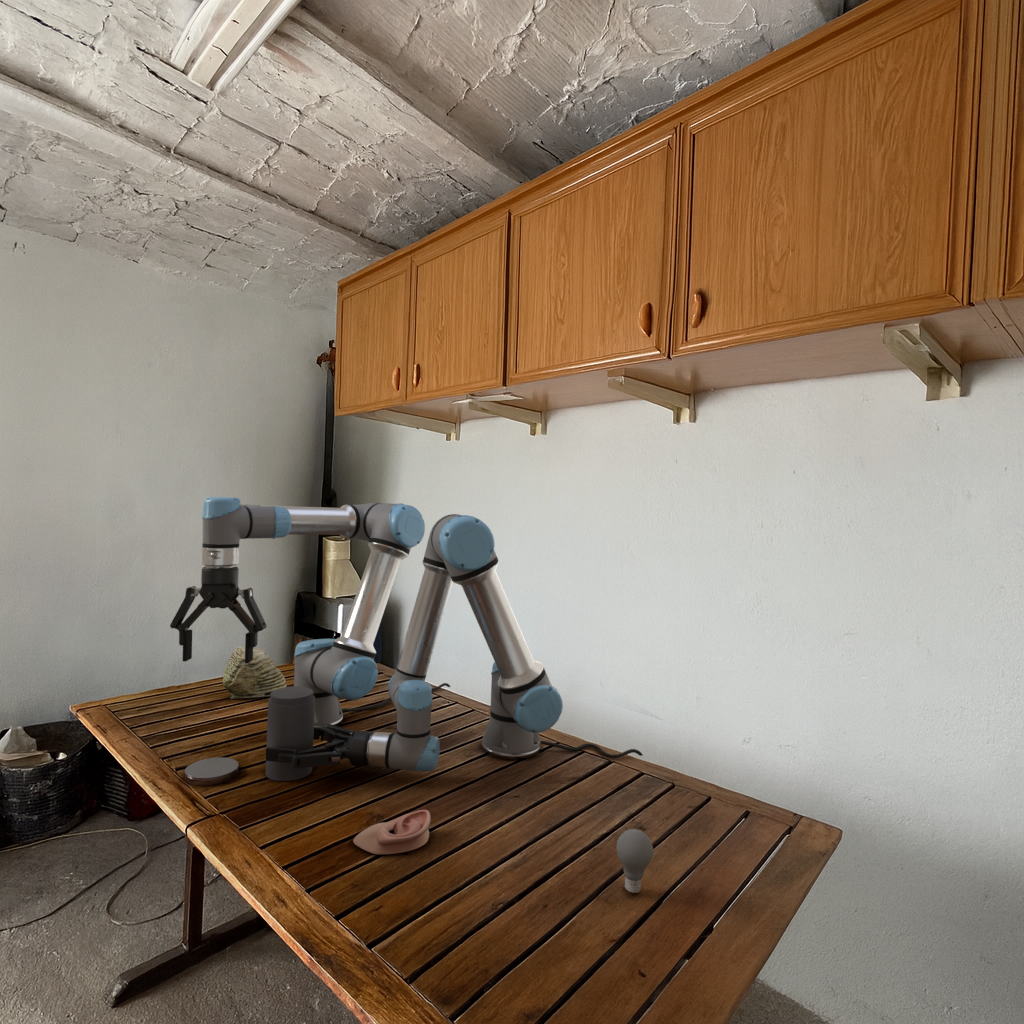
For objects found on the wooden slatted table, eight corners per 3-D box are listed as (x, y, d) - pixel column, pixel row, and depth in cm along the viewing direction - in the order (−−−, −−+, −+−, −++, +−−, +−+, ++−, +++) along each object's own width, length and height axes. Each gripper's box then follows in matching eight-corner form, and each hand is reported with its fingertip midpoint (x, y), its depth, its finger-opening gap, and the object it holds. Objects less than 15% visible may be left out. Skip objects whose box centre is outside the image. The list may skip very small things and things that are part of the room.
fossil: (218, 695, 195) (220, 647, 195) (278, 685, 208) (279, 640, 207) (228, 703, 189) (230, 653, 188) (289, 692, 201) (290, 645, 201)
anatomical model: (346, 827, 114) (372, 798, 125) (345, 849, 114) (372, 818, 125) (416, 839, 111) (436, 808, 122) (415, 861, 111) (436, 828, 123)
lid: (219, 760, 149) (219, 753, 149) (248, 772, 144) (248, 765, 143) (174, 776, 140) (174, 769, 140) (203, 790, 134) (203, 782, 134)
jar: (288, 759, 152) (291, 683, 152) (321, 768, 148) (324, 690, 147) (255, 775, 143) (258, 694, 142) (290, 785, 138) (293, 702, 138)
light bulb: (610, 879, 108) (613, 822, 108) (644, 879, 109) (647, 822, 109) (619, 902, 102) (622, 840, 102) (655, 901, 103) (658, 840, 103)
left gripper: (154, 566, 137) (152, 663, 137) (271, 570, 138) (268, 666, 138) (171, 562, 144) (169, 654, 145) (282, 566, 145) (279, 657, 146)
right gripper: (351, 790, 131) (253, 782, 133) (385, 744, 156) (302, 738, 158) (353, 754, 131) (254, 746, 133) (386, 714, 156) (303, 708, 158)
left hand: (218, 660), depth 142 cm, fingers open, 13 cm apart
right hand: (280, 742), depth 145 cm, fingers open, 13 cm apart
